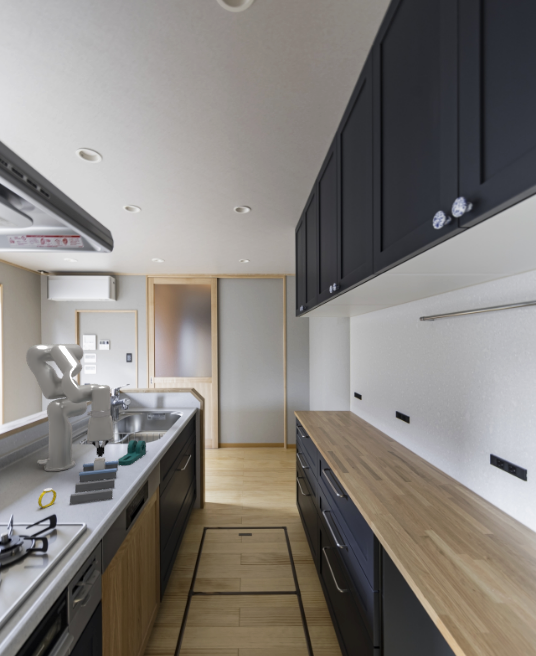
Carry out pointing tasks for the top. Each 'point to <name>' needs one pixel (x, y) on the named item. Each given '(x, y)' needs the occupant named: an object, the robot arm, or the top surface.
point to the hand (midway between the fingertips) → (100, 456)
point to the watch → (44, 494)
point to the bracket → (133, 452)
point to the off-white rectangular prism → (99, 463)
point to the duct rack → (95, 483)
